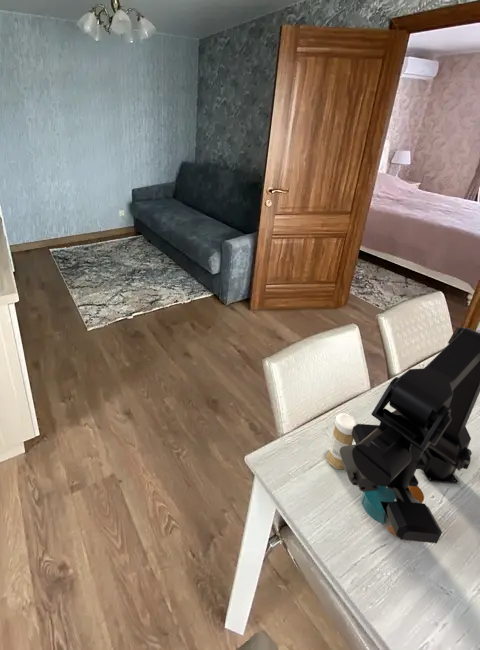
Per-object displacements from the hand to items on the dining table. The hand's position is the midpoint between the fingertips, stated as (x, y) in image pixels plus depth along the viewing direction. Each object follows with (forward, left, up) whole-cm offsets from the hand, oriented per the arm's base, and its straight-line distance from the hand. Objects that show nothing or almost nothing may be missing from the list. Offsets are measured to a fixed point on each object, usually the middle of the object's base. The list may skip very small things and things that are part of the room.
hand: (379, 506), depth 63 cm
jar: (-8, -5, -12) cm, 16 cm away
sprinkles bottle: (-1, -18, -13) cm, 22 cm away
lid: (0, 0, 0) cm, 0 cm away
